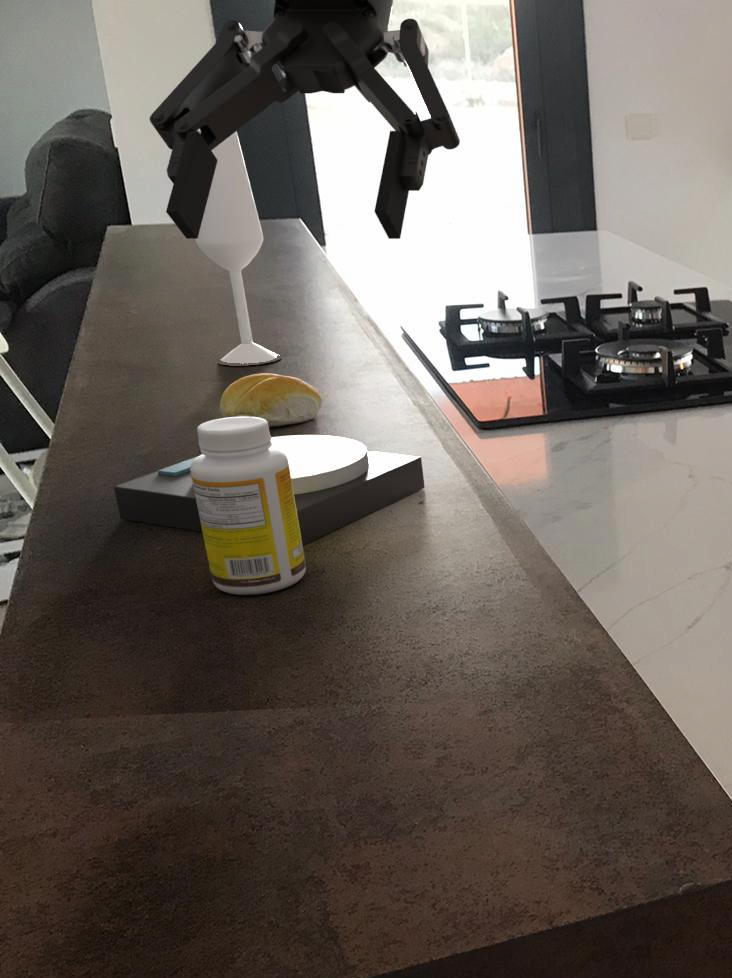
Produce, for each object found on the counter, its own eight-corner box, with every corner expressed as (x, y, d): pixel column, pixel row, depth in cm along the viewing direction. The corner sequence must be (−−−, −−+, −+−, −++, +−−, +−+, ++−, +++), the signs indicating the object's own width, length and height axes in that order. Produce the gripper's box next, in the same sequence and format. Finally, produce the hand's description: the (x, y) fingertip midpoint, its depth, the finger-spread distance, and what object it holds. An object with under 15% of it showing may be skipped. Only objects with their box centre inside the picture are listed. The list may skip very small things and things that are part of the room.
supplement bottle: (277, 559, 84) (251, 407, 80) (324, 579, 81) (300, 421, 77) (195, 584, 80) (164, 425, 76) (242, 605, 77) (212, 441, 73)
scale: (120, 519, 92) (109, 470, 90) (259, 466, 104) (252, 422, 102) (300, 547, 87) (292, 494, 85) (425, 487, 99) (419, 441, 97)
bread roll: (285, 401, 124) (279, 360, 122) (337, 416, 119) (331, 373, 117) (203, 418, 118) (195, 375, 117) (253, 434, 113) (245, 390, 111)
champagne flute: (252, 351, 145) (214, 127, 136) (295, 357, 143) (260, 128, 133) (203, 363, 140) (160, 129, 131) (247, 369, 137) (207, 131, 128)
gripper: (525, 21, 94) (489, 261, 86) (193, 24, 95) (127, 261, 87) (499, -67, 87) (457, 185, 79) (141, -62, 88) (64, 186, 80)
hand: (284, 226), depth 83 cm, fingers open, 13 cm apart
